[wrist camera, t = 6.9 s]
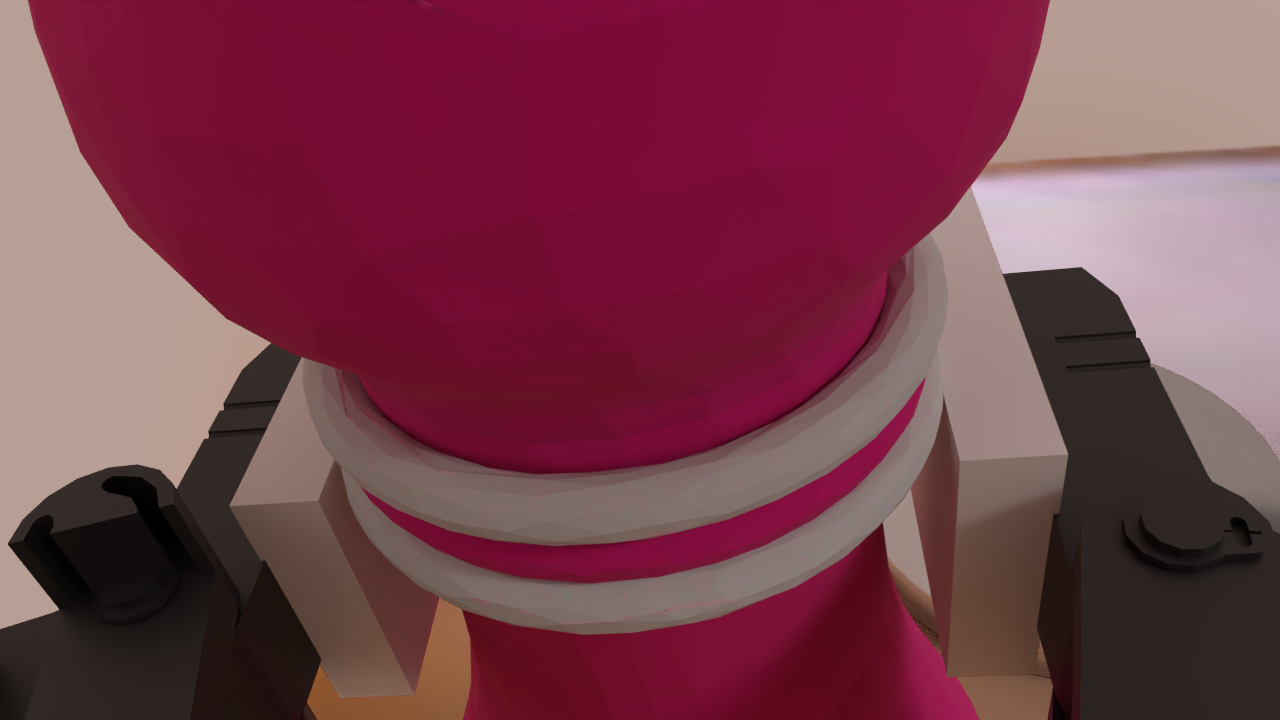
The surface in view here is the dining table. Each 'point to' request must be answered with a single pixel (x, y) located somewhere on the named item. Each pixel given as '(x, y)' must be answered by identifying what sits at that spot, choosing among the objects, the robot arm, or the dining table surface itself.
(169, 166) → the pepper mill
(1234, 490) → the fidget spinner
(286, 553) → the robot arm
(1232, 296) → the dining table surface
